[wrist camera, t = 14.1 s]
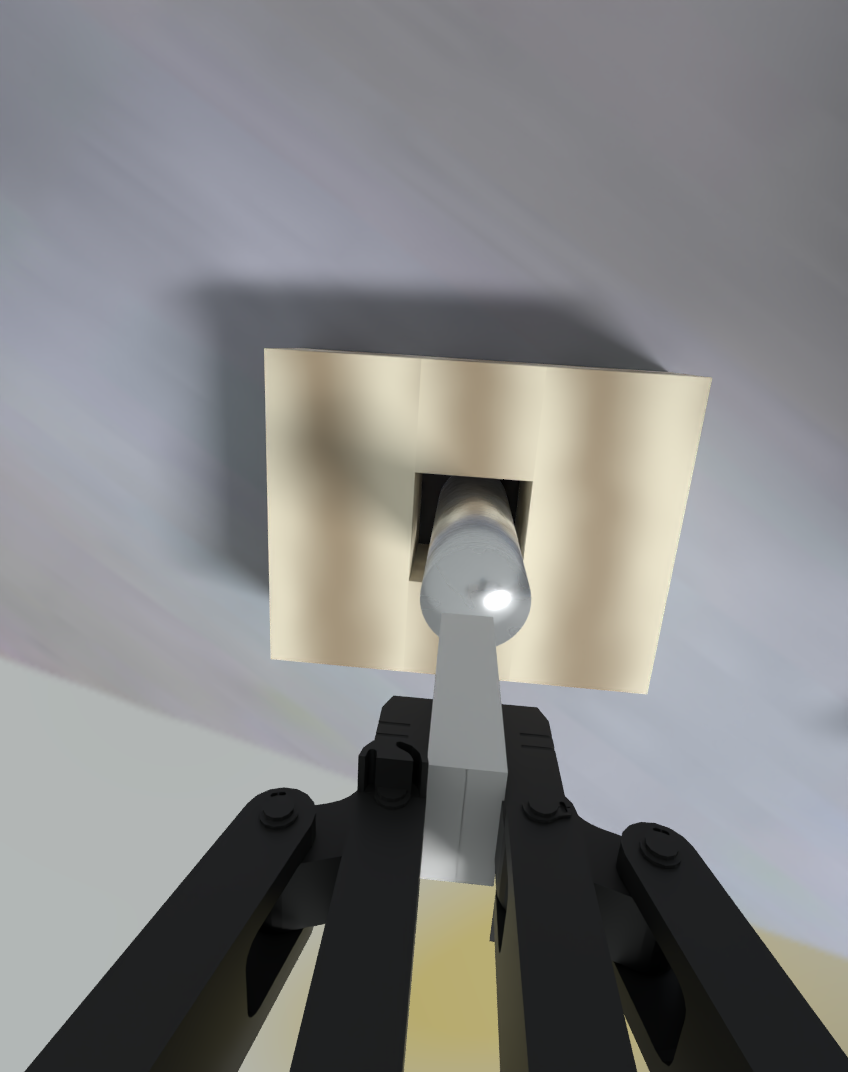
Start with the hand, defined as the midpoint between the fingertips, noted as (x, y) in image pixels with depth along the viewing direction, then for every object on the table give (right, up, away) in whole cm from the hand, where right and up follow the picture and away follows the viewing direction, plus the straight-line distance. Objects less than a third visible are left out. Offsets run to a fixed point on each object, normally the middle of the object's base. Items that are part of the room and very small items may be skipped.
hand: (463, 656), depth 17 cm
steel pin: (+2, +5, +17) cm, 18 cm away
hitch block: (+2, +5, +17) cm, 18 cm away
